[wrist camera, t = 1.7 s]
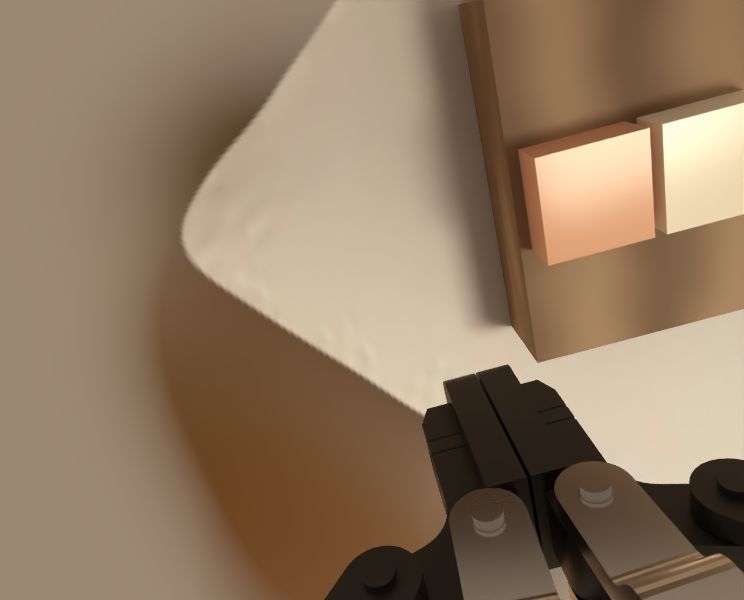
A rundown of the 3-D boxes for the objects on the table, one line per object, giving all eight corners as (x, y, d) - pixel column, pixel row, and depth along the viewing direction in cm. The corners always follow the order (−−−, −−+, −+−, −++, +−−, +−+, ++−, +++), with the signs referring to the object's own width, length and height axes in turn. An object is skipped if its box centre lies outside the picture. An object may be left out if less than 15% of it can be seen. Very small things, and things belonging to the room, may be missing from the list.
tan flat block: (740, -71, 26) (811, -88, 22) (738, 266, 33) (792, 296, 29) (458, 5, 26) (483, 0, 23) (512, 326, 33) (537, 362, 29)
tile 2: (624, 121, 25) (649, 127, 23) (631, 223, 27) (655, 237, 25) (517, 149, 25) (534, 158, 23) (532, 249, 27) (548, 265, 25)
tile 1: (743, 89, 25) (778, 93, 23) (742, 194, 27) (774, 206, 25) (636, 118, 25) (662, 124, 23) (642, 220, 27) (667, 234, 25)
